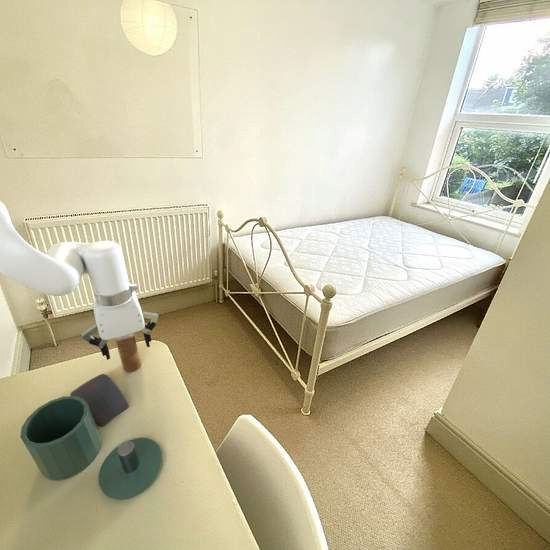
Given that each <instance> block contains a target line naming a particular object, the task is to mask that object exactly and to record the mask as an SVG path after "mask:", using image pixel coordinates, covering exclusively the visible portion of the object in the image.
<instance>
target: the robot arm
mask: <svg viewBox="0 0 550 550" xmlns="http://www.w3.org/2000/svg"><path fill="white" fill-rule="evenodd" d="M0 273H1V274H2V275H4V277H6V278H9V279H10V280H12V281H13V282H16V283H18V284H21V285H22V286H25V287H26V288H29V289H31V290H33V291H35V292H38V293H39V294H40V293H41V294H43V295H47V296H52V297H63V296H66V295H69V294H71V293H72V292H74V291H75V290H76V289H77V288H78V287H79V285H80V282H81V280H82V278H83V275H85V274H86V275H88V278H89V281H90V282H89V283H90V285H91V288H92V292H93V295H94V300H93V301H92V308H93V314H94V320H95V323H94V324H93V325H91V326H90V327H89V328H87V329H86V330H84V331H83V332H82V333H81V338H82V340H84V341H86V342H88V343H89V344H90V345H92V346H95V347H97V348H98V349H100V352H101V354H102V357H105V358H106V360H110V359H111V355H110V349H109V346H108V341H110V340H114V339H116V338H117V337H121V336H124V335H128V334H131V333H133V334H135V333H138V332H142V333H143V337H144V343H145V345H146V347H147V348H150V347H151V345H150V342H152V337H151V333H152V331H153V330H154V328H155V327H156V326H157V325H156V324H157V322H158V320H159V318H160V317H159V314H158V313H156V312H149V311H143V310H142V307H141V304H140V301H139V298H138V296H137V294H136V292H135V291H137V290H138V285H137V283H136V284H134V283H133V284H132V283H130V279H129V277H128V271H127V266H126V262H125V257H124V254H123V250H122V247H121V245H120V244H119V243H117V242H116V241H113V240H97V241H94V242H80V241H79V242H78V241H61V242H56V243H54V244H53V245H51V246H50V247H49V248H48V250H46V253H44V252H42V251H41V250H39V249H37V248H35V247H34V246H33V245H32V244H30V243H28V242H27V241H26V240H25V239H24V238H23V237H22V236H21V235H20V234H19V233H18V231H17V230H16V228H15V227H14V225H13V223H12V220H11V217H10V214H9V210H8V209H7V207H6V205H5V204H4V202H2V201H1V200H0ZM145 319H147V320H149V321H148V323H146V322H145ZM97 332H98V335H99V336H98V337H97V336H94V334H95V333H97Z"/></svg>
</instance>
